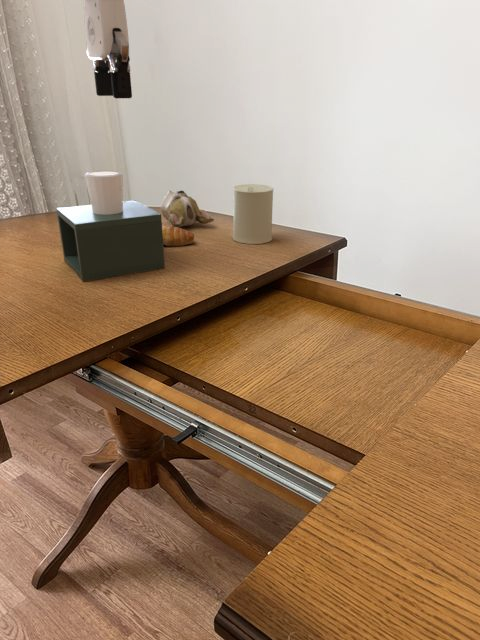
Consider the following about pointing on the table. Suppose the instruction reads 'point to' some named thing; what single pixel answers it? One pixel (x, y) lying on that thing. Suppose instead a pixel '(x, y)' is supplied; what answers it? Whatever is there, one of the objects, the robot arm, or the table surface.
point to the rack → (111, 240)
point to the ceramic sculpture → (183, 210)
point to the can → (252, 213)
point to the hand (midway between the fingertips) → (113, 96)
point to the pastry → (176, 236)
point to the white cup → (105, 191)
